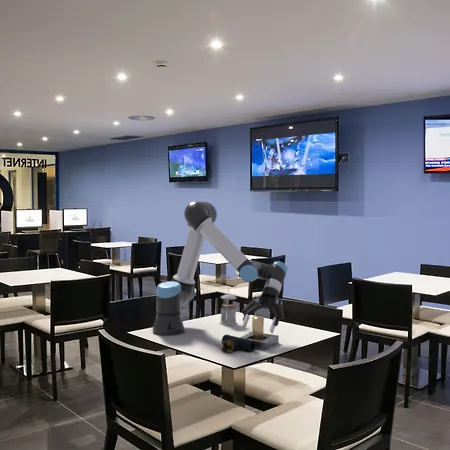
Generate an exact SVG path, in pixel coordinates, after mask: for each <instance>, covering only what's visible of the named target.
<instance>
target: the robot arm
mask: <svg viewBox="0 0 450 450" xmlns="http://www.w3.org/2000/svg"><path fill="white" fill-rule="evenodd" d="M183 214H184V215H183V217H184V220H185V221H186V223H187V227H188V233H187V238H186V241H185V245H184V247H183V251H182V255H181V259H180V263H179V266H178V268H177V273H176V274H174V275H173V276H172V279H171V281H165V282H161V283H159V284H158V285H157V286H156V291H155V292H156V293H155V294H156V316H155V320H154V322H153V326H152V333H153V334H156V335H160V336H175V335H180V334H181V335H182V333H184V332H185V326H184V323H183V320H182V319H183V317H182V314H181V313H182V312H181V306H184V305H187V304H189V303H190V302H191V301H192V300H193V299H194V297H195V294H196V288H195V285H196V281H195V279H194V277H195V273H196V271H197V267H198V263H199V259H200V256H201V252H202V250H203V245H204V242H205V240H207V242H209V243H210V245H212V246H213V248H214V249H215V250H216V251H217V252H218V253H219V254H220V255H221V256H222V257H223V258H224V259H225V260H226V261H227V262H228V263H229V264H230V265H231V266H232V267H233V268H234V269H235V270H236V272H237V273H238V275H239V277H240V279H241V280H242V281H243V282H246V283H250V282H251V283H252V282H253V281H256V280H258V279H261V280H265V281H266V282H265V283H264V286H263V287H264V288H263V289H262V291H261V294H260V297H257V296H254V297H252V300H251V301H249V303H247V305H246V306H245V307H243V309H242V310H241V314H242V315H243V317H242V324H241V327H242V329H243V330H246V328H247V325H248V323H249V320H250V318H251V317H250V316H251V315H252V314H254V313H256V312H257V311H258V310H261V309H268V310H270V309H271V310H272V312H273V314H274V317H273V320H272V322H271V325H270V328H269V332H270V334H274V332H275V328H276V327H278V325H279V323H280V321H281V320H283V321H284V320H285V315H284V310H283V304H284V303H283V301H282V299H281V298H279V294H280V292H281V290H282V287H283V284H284V281H285V279H286V276H287V272H288V266H287V264H285V263H284V262H282V261H274V262H273V264H269V263H268V264H267V263H264V262H259V261H256V260H250V259H249V258H248V257H247V256H246V255H245V254H244V253H243V252H242V251H241V250H240V248H238V247H237V246H236V245H235V243H234V242H232V241H231V240H230V239H229V237H227V235H225V234H224V233H223V231H222V230H220V228H219V227H218V226H217V225H216V224H215V222H216V220H217V218H218V211H217V209H216V207H215V205H213V204H212V203H211V202H208V201H192V202H190V203H188V204H187V205H186V206H185V209H184V213H183ZM278 298H279V299H278ZM276 304H277V307H278V311H279V314H278V312H277V310H276V309H275V308H276V307H275V305H276Z"/></svg>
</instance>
